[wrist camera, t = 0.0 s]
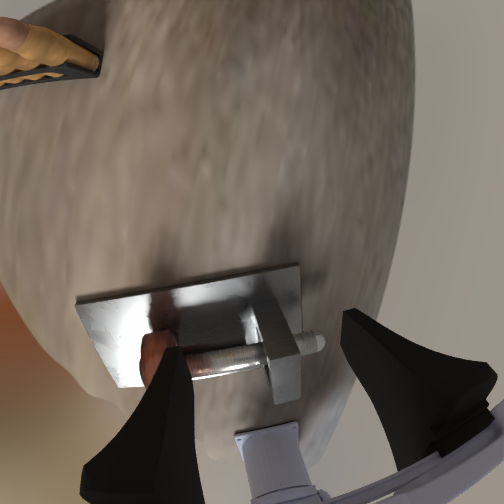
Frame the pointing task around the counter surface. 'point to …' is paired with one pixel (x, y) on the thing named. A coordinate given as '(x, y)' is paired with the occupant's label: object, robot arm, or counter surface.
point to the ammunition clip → (43, 55)
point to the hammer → (216, 354)
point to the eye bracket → (206, 323)
